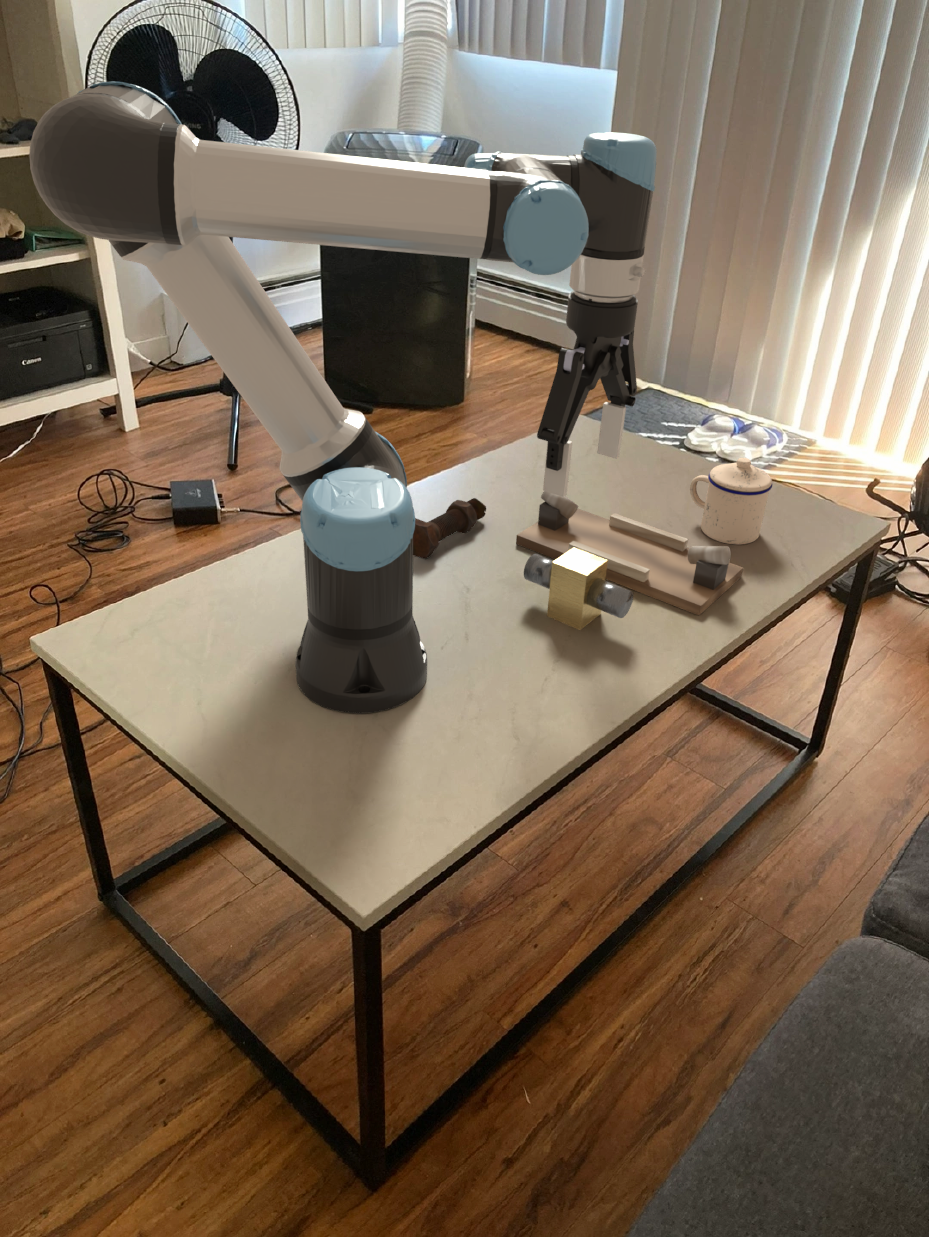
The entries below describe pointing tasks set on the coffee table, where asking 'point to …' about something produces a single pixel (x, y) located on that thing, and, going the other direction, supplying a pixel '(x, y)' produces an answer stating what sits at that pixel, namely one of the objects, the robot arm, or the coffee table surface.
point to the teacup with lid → (733, 501)
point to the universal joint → (577, 587)
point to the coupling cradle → (635, 554)
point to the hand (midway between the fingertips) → (582, 473)
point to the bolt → (446, 526)
